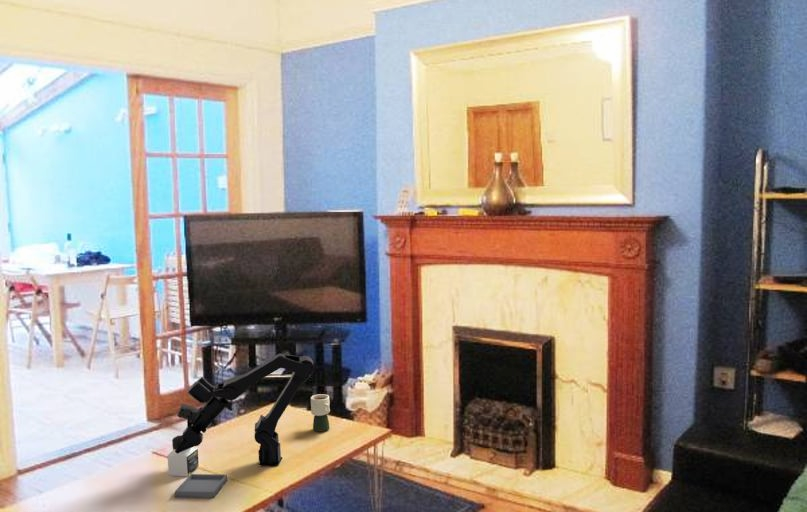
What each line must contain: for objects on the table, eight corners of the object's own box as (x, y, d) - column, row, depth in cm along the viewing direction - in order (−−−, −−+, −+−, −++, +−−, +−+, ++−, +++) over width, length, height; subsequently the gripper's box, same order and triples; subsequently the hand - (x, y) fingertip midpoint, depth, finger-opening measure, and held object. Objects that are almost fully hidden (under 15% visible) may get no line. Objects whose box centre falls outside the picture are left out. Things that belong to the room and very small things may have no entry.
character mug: (337, 431, 250) (336, 397, 248) (322, 436, 245) (320, 402, 244) (320, 423, 258) (319, 391, 256) (305, 428, 253) (304, 396, 252)
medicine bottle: (188, 477, 213) (186, 441, 212) (168, 475, 214) (165, 440, 213) (199, 467, 220) (197, 433, 219) (179, 466, 221) (177, 432, 220)
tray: (227, 480, 210) (227, 474, 209) (213, 498, 198) (213, 492, 198) (191, 480, 211) (190, 474, 210) (175, 497, 199) (174, 491, 199)
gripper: (194, 387, 224) (163, 422, 223) (188, 405, 206) (153, 442, 205) (220, 408, 227) (188, 442, 226) (215, 427, 208) (181, 464, 207)
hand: (177, 447), depth 216 cm, fingers open, 9 cm apart
